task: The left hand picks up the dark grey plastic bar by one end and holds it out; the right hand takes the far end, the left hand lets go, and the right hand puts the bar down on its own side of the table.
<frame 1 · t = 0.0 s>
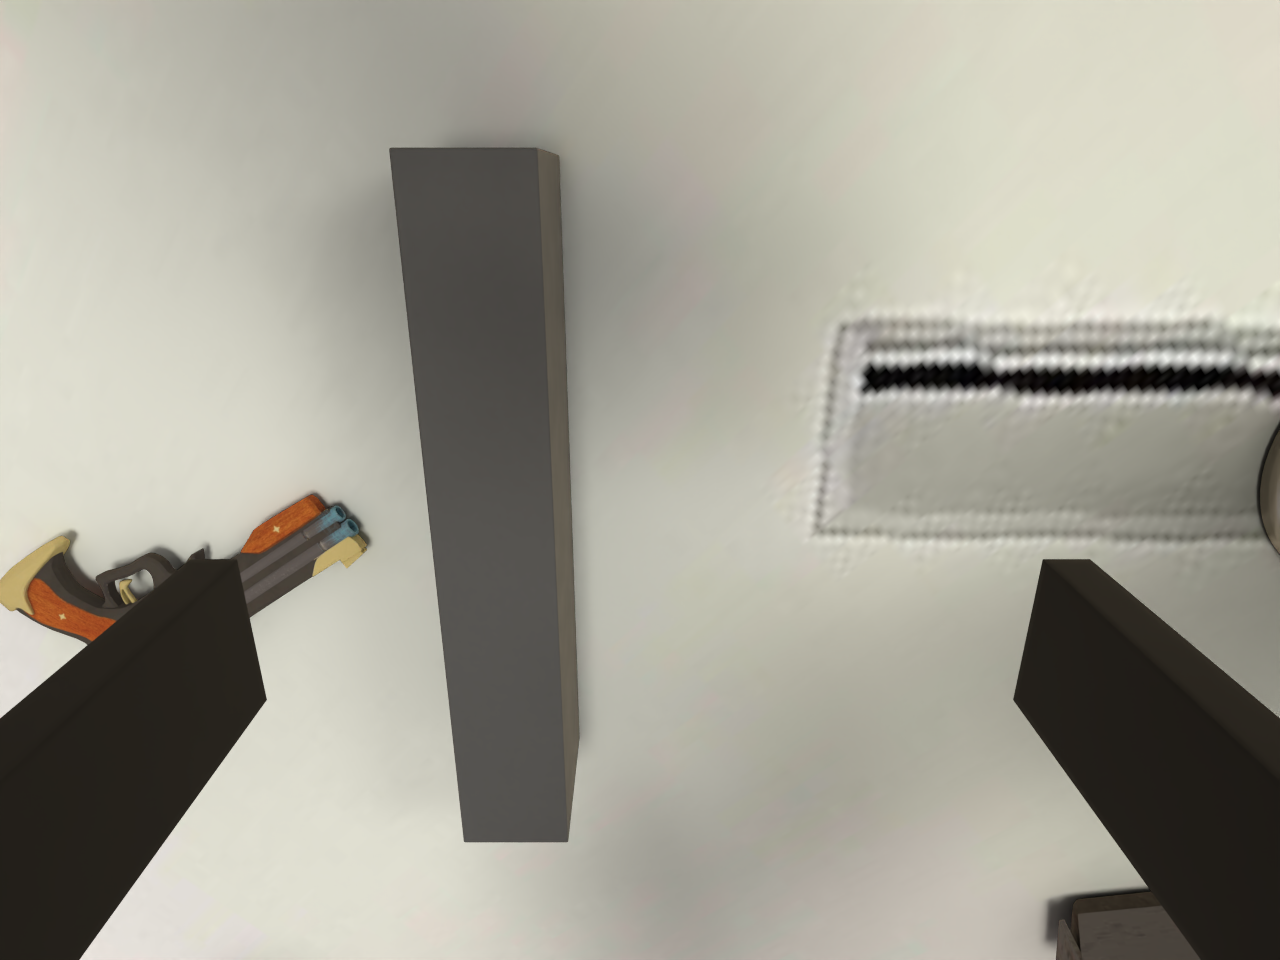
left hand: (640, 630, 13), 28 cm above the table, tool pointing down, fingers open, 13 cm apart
bar: (520, 488, 42), on the table
toy gun: (192, 557, 44), on the table
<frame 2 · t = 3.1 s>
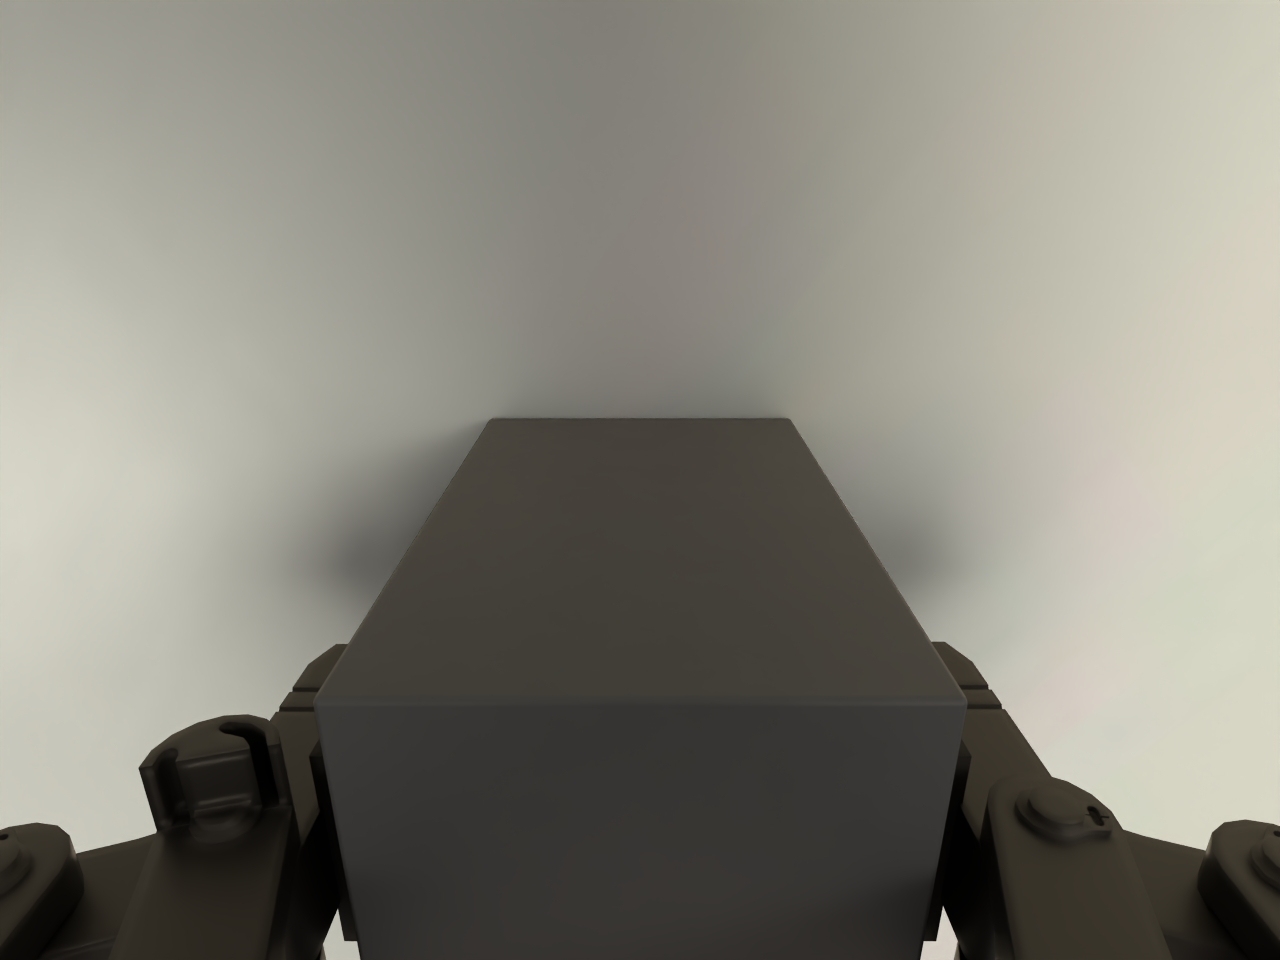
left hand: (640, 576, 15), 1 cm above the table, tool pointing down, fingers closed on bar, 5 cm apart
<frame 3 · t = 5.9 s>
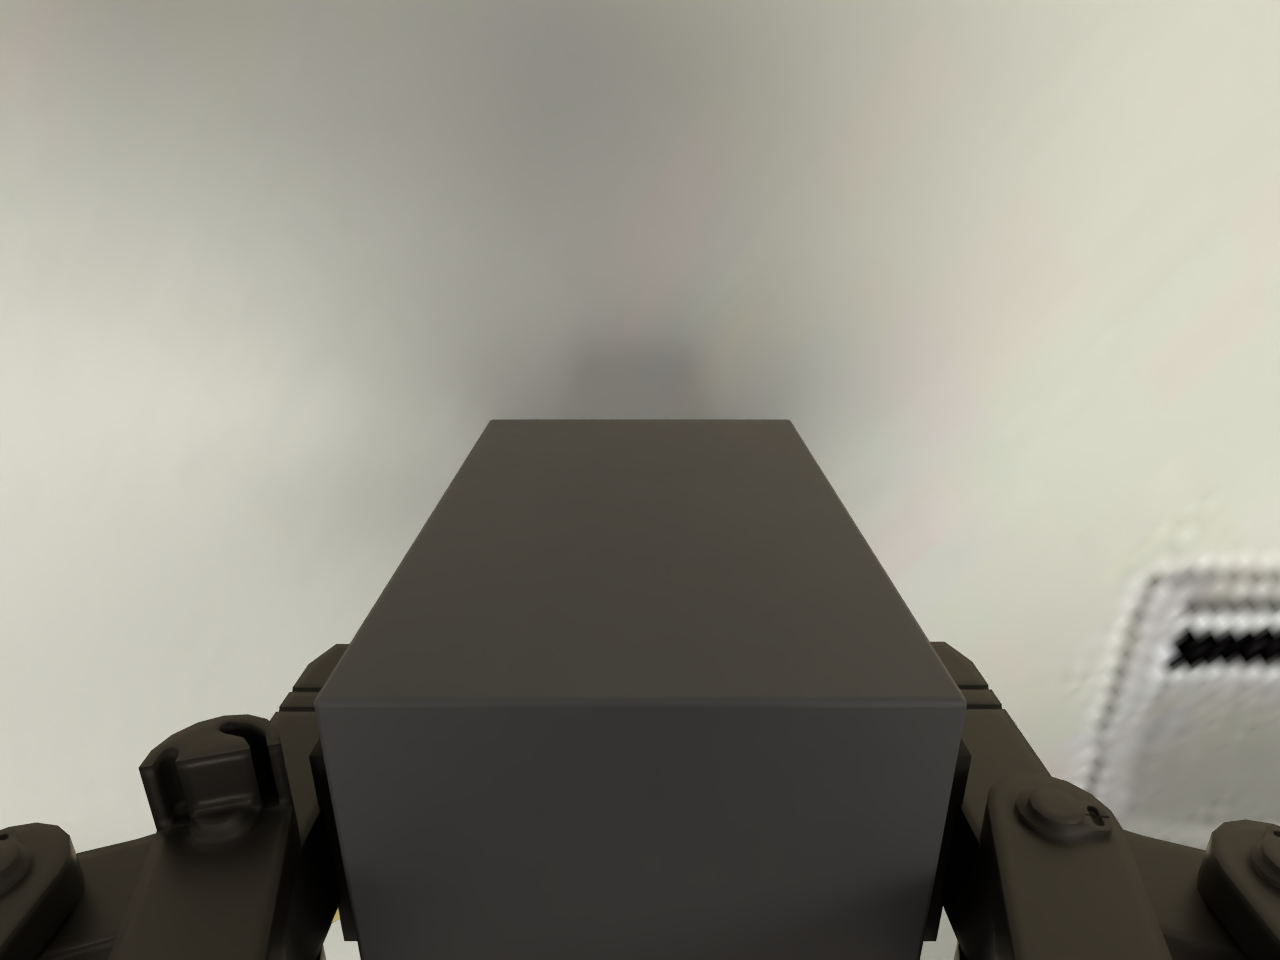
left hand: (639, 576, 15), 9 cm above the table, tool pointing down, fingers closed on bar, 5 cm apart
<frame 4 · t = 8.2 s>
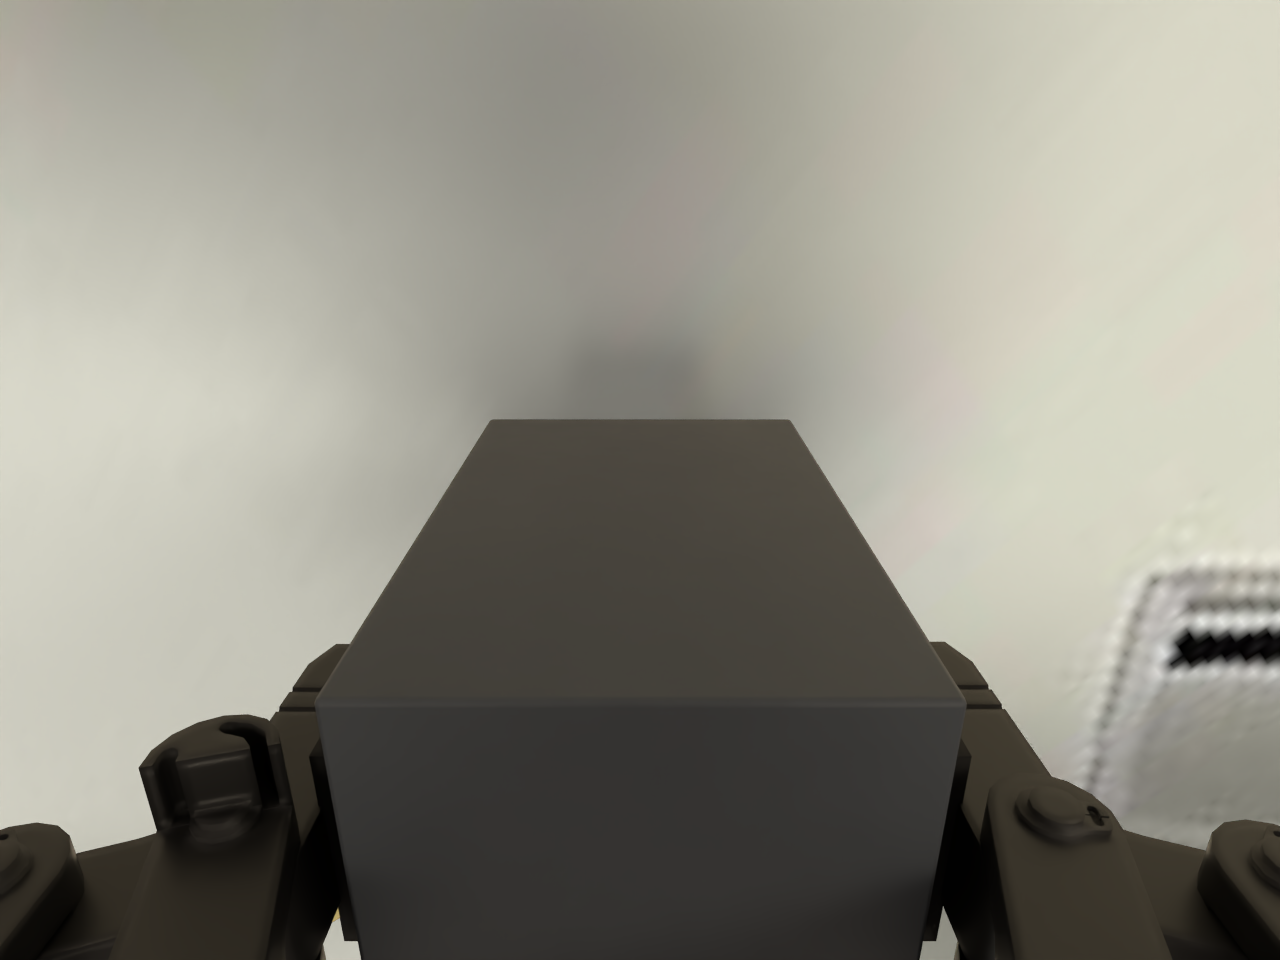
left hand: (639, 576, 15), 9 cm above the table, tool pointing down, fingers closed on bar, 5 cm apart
when the left hand's fingers open (9 cm above the table, at t = 8.9 s): bar stays where it is, held by the right hand.
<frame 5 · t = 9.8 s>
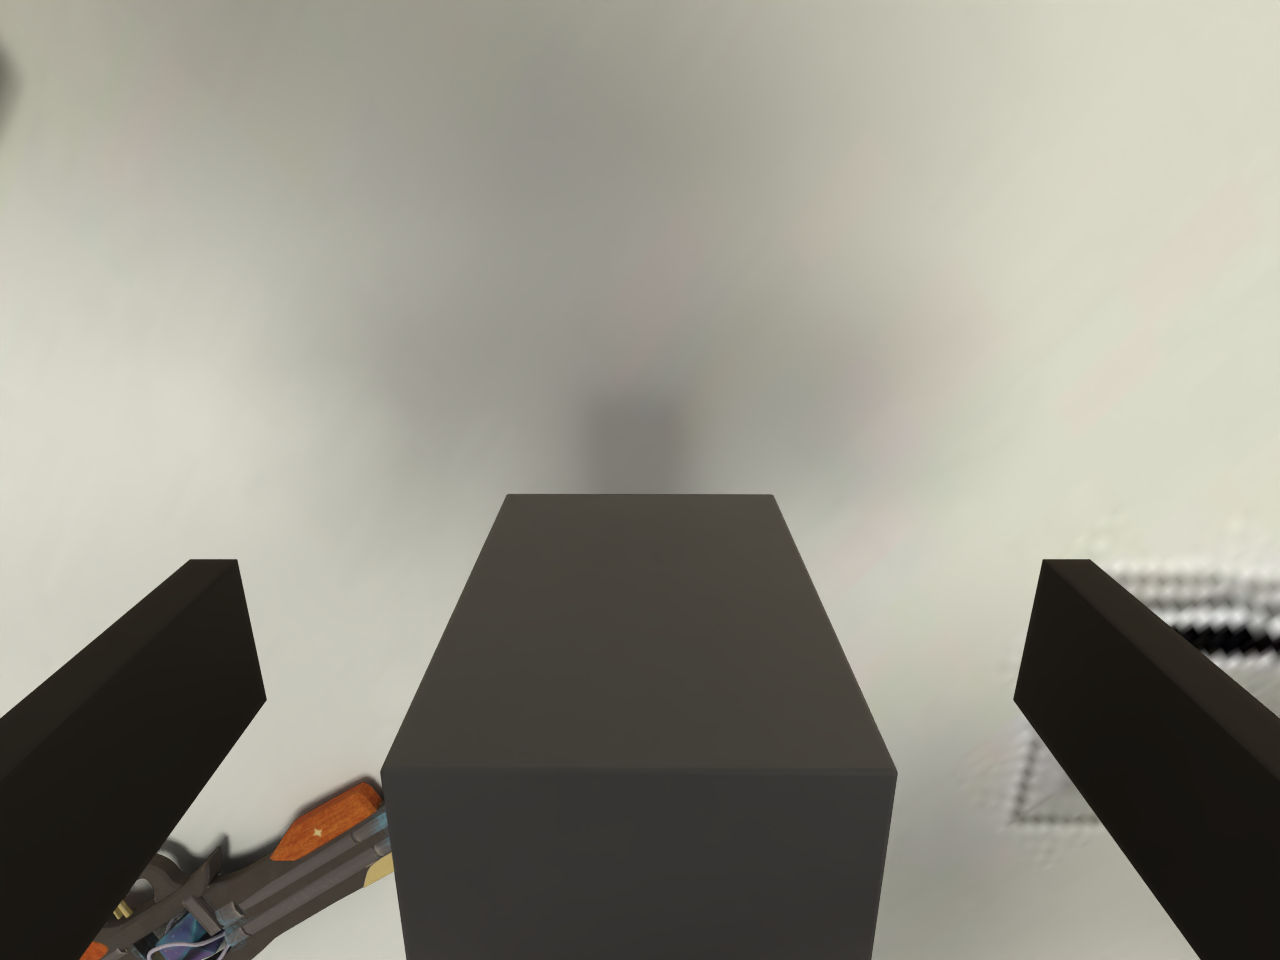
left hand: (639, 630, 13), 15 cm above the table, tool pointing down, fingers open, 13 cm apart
toy gun: (205, 850, 34), on the table
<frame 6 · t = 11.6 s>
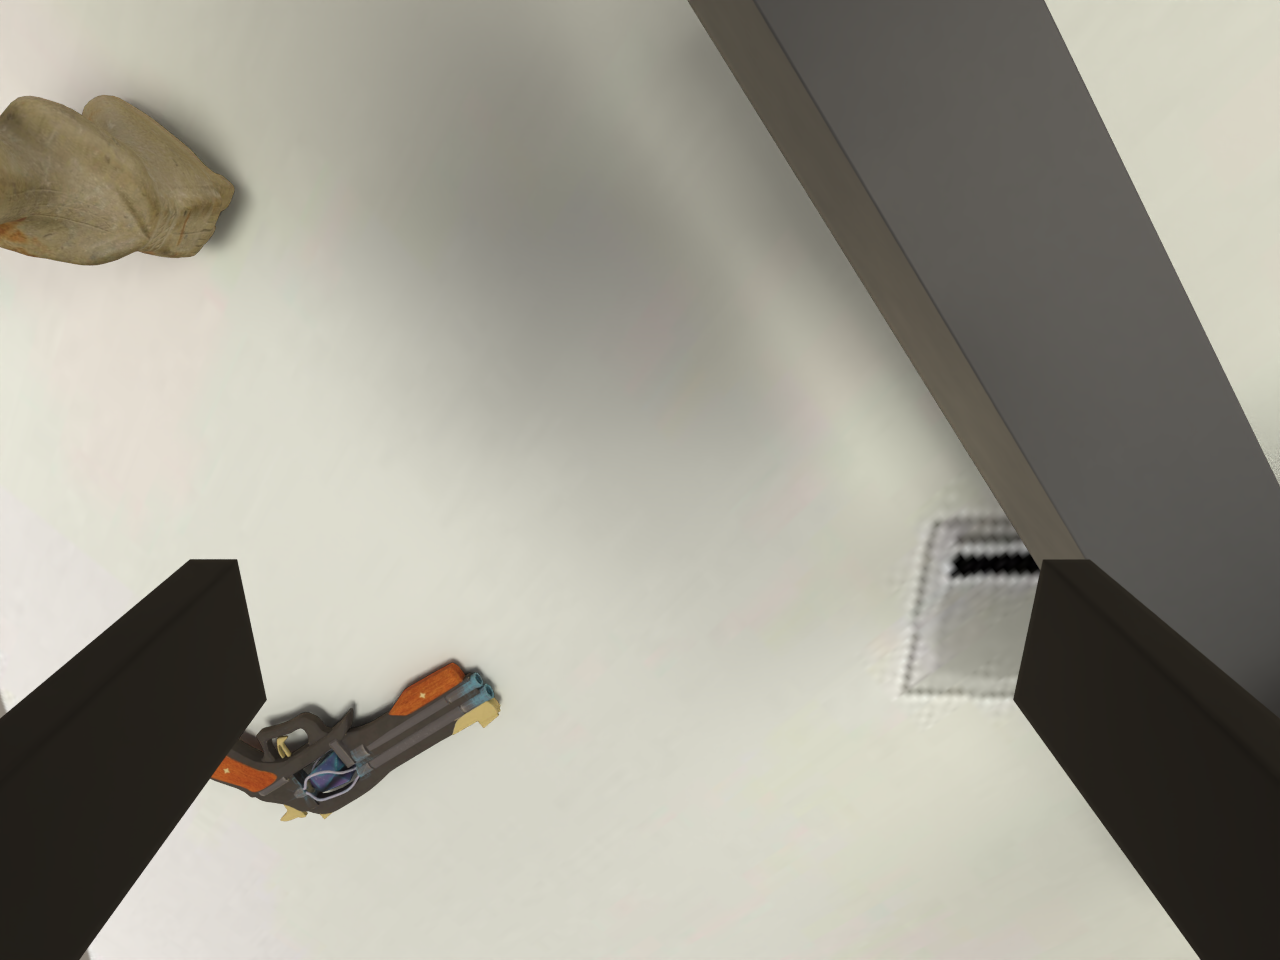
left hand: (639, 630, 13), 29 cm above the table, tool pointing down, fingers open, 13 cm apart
sculpture: (174, 180, 37), on the table
bar: (992, 346, 29), point 11 cm above the table, touching right hand
toy gun: (339, 713, 48), on the table
when the right hand's fingers open (2 cm above the table, at t = 15.2 s): bar drops 2 cm, on the table.
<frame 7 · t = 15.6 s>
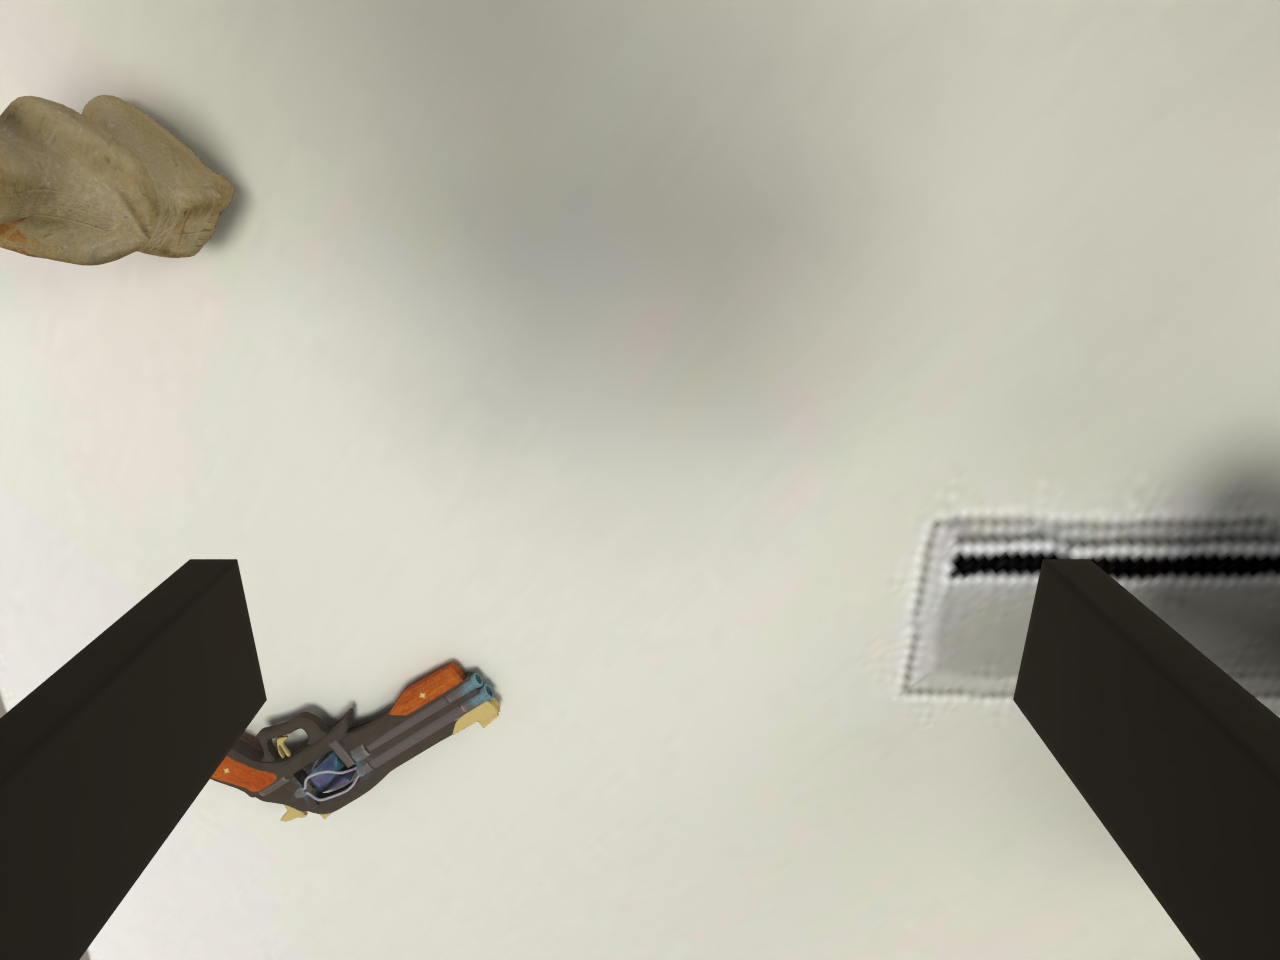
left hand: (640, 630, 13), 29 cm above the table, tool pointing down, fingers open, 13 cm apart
sculpture: (174, 180, 37), on the table
toy gun: (339, 713, 48), on the table
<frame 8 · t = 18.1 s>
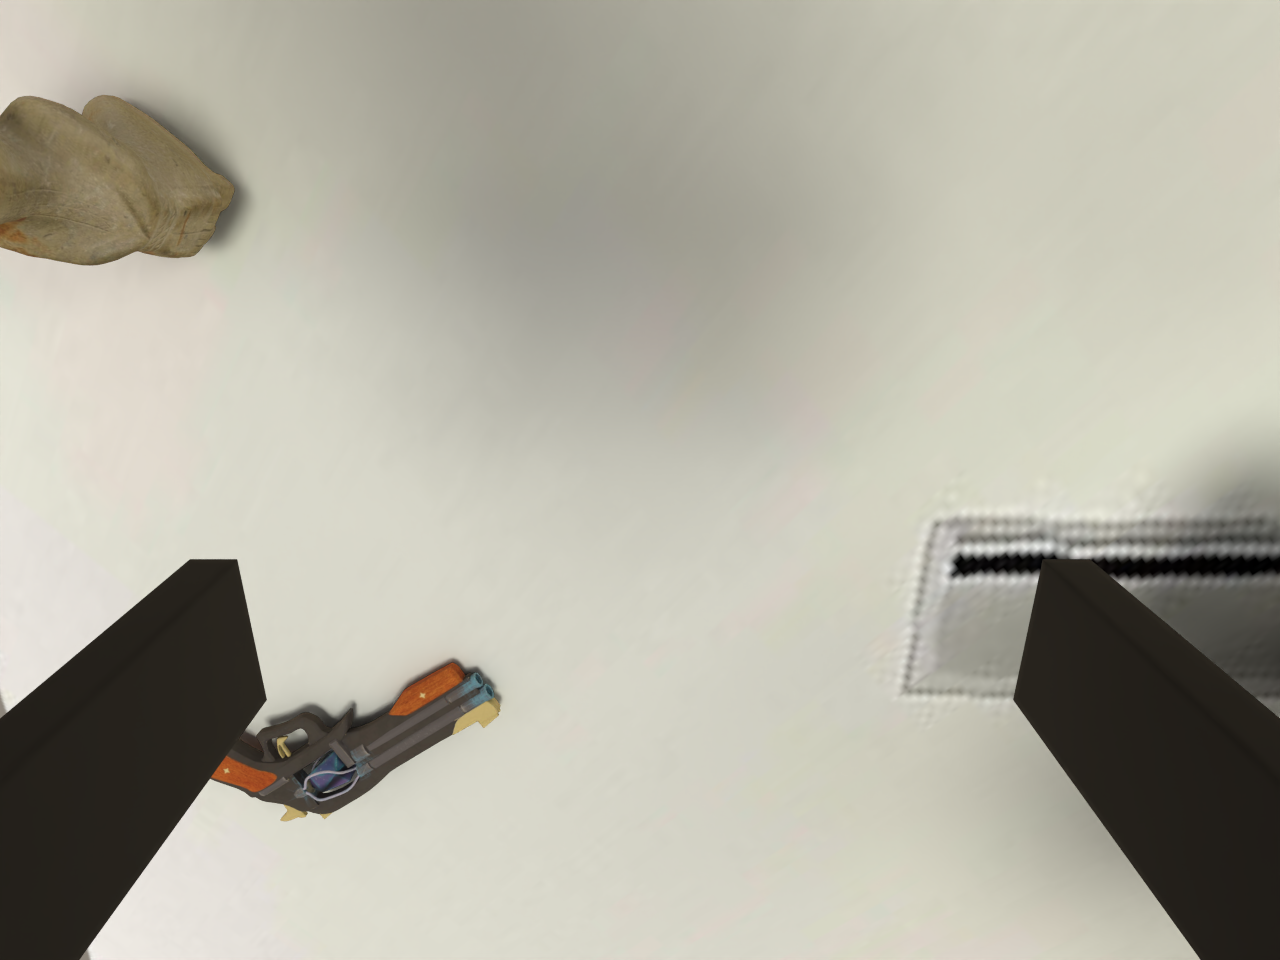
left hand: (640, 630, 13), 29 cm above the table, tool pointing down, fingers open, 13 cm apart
sculpture: (174, 180, 37), on the table
toy gun: (339, 713, 48), on the table
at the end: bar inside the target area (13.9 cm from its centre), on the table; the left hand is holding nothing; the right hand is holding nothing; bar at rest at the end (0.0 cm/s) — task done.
